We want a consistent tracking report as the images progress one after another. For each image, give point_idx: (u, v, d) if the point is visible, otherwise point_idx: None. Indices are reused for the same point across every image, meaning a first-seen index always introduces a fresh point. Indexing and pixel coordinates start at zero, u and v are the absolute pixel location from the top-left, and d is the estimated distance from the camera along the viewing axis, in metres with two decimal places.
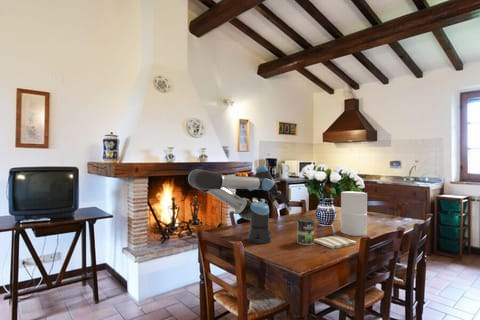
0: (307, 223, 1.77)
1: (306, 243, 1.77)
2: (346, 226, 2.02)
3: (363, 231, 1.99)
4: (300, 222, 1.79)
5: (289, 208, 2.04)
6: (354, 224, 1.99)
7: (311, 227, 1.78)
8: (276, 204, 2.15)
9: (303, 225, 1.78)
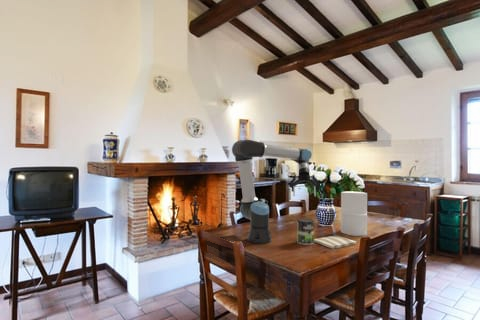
0: (307, 223, 1.77)
1: (306, 243, 1.77)
2: (346, 226, 2.02)
3: (363, 231, 1.99)
4: (300, 222, 1.79)
5: (315, 193, 1.92)
6: (354, 224, 1.99)
7: (311, 227, 1.78)
8: (294, 190, 1.96)
9: (303, 225, 1.78)
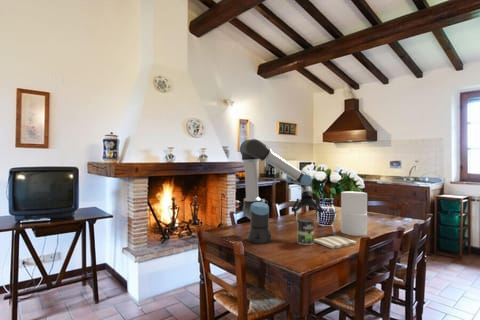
0: (307, 223, 1.77)
1: (306, 243, 1.77)
2: (346, 226, 2.02)
3: (363, 231, 1.99)
4: (300, 222, 1.79)
5: (318, 218, 1.88)
6: (354, 224, 1.99)
7: (311, 227, 1.78)
8: None
9: (303, 225, 1.78)
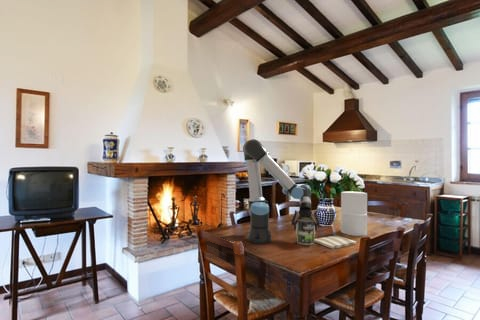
0: (307, 223, 1.77)
1: (306, 243, 1.77)
2: (346, 226, 2.02)
3: (363, 231, 1.99)
4: (300, 222, 1.79)
5: (314, 233, 1.79)
6: (354, 224, 1.99)
7: (311, 227, 1.78)
8: None
9: (303, 225, 1.78)
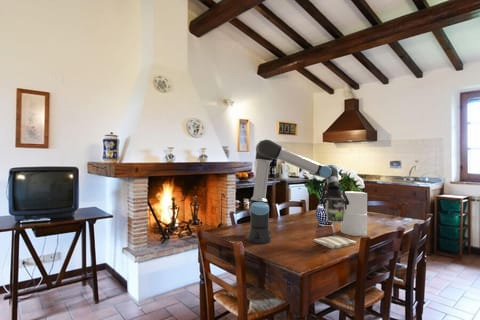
0: (337, 201, 1.76)
1: (336, 221, 1.77)
2: (346, 226, 2.02)
3: (363, 231, 1.99)
4: (330, 200, 1.78)
5: (345, 211, 1.79)
6: (354, 224, 1.99)
7: (341, 205, 1.77)
8: (326, 207, 1.82)
9: (333, 203, 1.77)
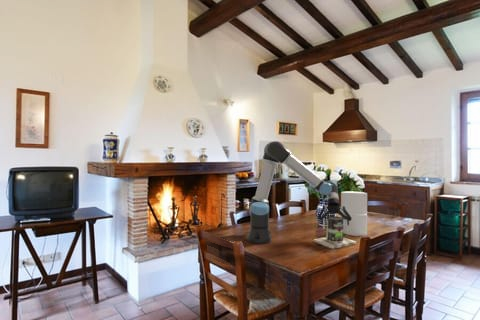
0: (337, 221, 1.77)
1: (336, 241, 1.77)
2: None
3: (363, 231, 1.99)
4: (330, 220, 1.79)
5: None
6: (354, 224, 1.99)
7: (341, 225, 1.78)
8: (324, 223, 1.83)
9: (333, 223, 1.77)
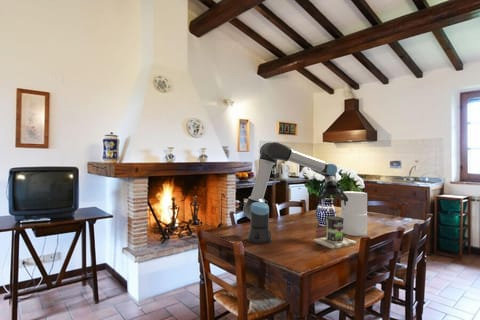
0: (337, 221, 1.77)
1: (336, 241, 1.77)
2: (346, 226, 2.02)
3: (363, 231, 1.99)
4: (330, 220, 1.79)
5: None
6: (354, 224, 1.99)
7: (341, 225, 1.78)
8: (322, 203, 1.96)
9: (333, 223, 1.77)
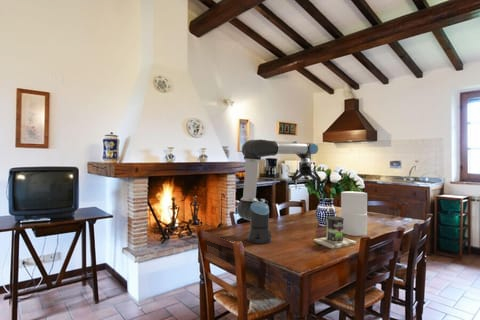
0: (337, 221, 1.77)
1: (336, 241, 1.77)
2: (346, 226, 2.02)
3: (363, 231, 1.99)
4: (330, 220, 1.79)
5: (316, 186, 2.01)
6: (354, 224, 1.99)
7: (341, 225, 1.78)
8: (296, 183, 2.05)
9: (333, 223, 1.77)
